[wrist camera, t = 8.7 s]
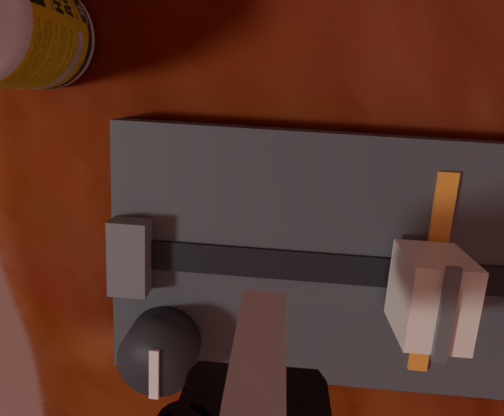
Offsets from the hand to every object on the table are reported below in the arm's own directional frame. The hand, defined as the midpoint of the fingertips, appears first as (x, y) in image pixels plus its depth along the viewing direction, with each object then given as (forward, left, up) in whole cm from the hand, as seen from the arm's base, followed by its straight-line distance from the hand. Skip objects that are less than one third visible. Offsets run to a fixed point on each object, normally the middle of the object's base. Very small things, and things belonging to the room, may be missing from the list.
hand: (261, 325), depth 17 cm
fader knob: (+1, +8, -8) cm, 11 cm away
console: (+1, +4, -10) cm, 11 cm away
